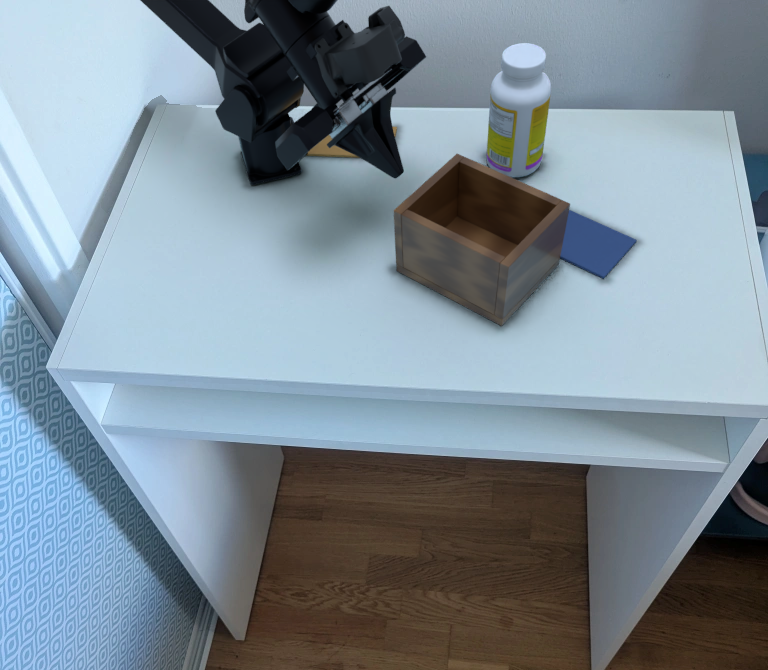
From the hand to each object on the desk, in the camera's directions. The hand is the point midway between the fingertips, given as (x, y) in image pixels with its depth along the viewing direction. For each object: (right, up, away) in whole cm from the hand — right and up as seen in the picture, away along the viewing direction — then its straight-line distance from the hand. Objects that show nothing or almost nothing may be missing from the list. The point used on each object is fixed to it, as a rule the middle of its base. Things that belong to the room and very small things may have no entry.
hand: (399, 175), depth 81 cm
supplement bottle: (+14, +6, +11) cm, 19 cm away
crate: (+9, -9, +3) cm, 13 cm away
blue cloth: (+19, -5, +4) cm, 21 cm away
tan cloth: (-6, +11, +15) cm, 19 cm away
